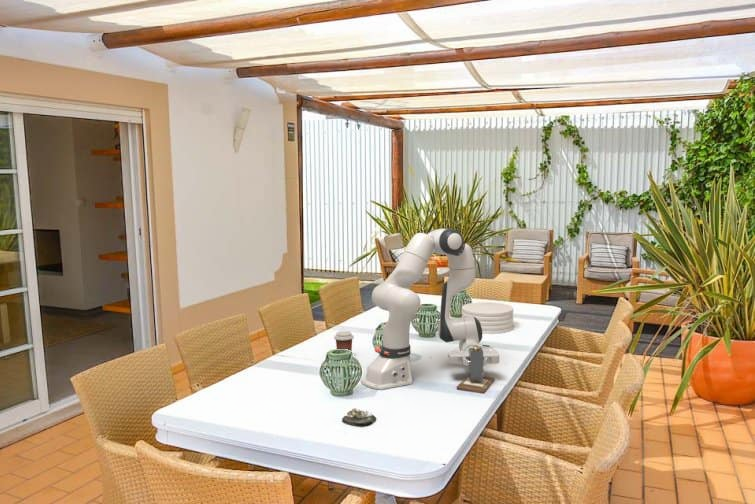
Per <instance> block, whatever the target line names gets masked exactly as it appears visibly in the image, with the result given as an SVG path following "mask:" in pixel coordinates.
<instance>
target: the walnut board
mask: <svg viewBox="0 0 755 504" xmlns="http://www.w3.org/2000/svg"><path fill="white" fill-rule="evenodd" d="M494 382H495V377H491V376H485V375H483V381H470V378H469V373H468V374H467V375H466V376H465V377H463V380H461V382H459V383H458V385H456V390H457V391H463V392H471V393H477V394H485V393H486V392H487V391H488V390H489V388H490V386H492V384H493V383H494Z"/></svg>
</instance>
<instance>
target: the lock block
mask: <svg viewBox="0 0 755 504" xmlns="http://www.w3.org/2000/svg"><path fill="white" fill-rule="evenodd" d="M469 360H470V365H468V374H469V378H470V381H483V376H484V365H483V350H482V348H479V347H478V346H474V347H473V348H469Z"/></svg>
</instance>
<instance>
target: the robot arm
mask: <svg viewBox="0 0 755 504" xmlns="http://www.w3.org/2000/svg"><path fill="white" fill-rule="evenodd" d="M433 255H442V256H443V255H445V256H446V258H447V260H448V267H449V274H448V275H449V276H448V279H447V280H446V281H445V282H443V285H442V289H441V299H440V300H441V301H440V302H441V303H440V312H439V314H440V315H439V322H438V326H437V327H438V328H437V333H438V337H439V339H440V340H441V341H443V342H445V343H451V342H455V341H456V342H457V341H459V343H458V348H459V350H451V351H450V353H447V357H448V358H449V363H450V364H452V365H465V366H469V365H470V360H469V348H473V347H474V346H478V347H479V348H482V350H483V366H487V365H489V364H491V365H497V364H500V353H498V351H497V350H496V349H494V347H493V345H488V344H482V343H481V342H482V339H483V334H482V328H481V324H480V322H479V320H478V319H477V318H475V317H474V316H473V317H463V318H462V317H456V318H454V317H453V318H451V317H450V314H451V313H450V312H451V301H452V299H453V297H454V296H455V295H457V294H459V293H460V292H462V291H465V290H467V289H468V288H469V287H471V286H472V285H473V284H474V282H476V281H475V280H476V266H475V265H476V264H475V258H474V254H473V250H472V247H471V246H470V245H469V244H468V243H466V241H465V240H464V237H463V234H462V233H461V232H460V231H459V230H458V229H456V228H455V229H454V228H435V229H432V230H429V231H428V232H426V233H424V232H417V233H415V234H414V235H413V236H412V238H411V239H410V240H409V241H408V243H407V244H406V247H405V249H404V250H403V253H402V254H401V256H400V259H399V260H398V262H397V264H396V266H395V267H394V269H393V270H392V272H391V273H390V274H389V275H388V277H387V278H386V279H385V280H384V281H383V282H381V283H380V284H379V285H376V287H374V288H373V290H372V294H371V300H372V302H373V304H374V305H375V306H376V307H378V309H381V310H383V311H387V312H388V319H387V321H386V323H385V324H384V325H383V326H382V345H381V346H380V347H381V348H380V347H377V346H376V347H375V348H374V352H375V353H378V354H379V355H378V356H377V357H376V358H375V359H373V361H372V362H371V363H370V364H369V365H368V367H367V369H366V376H365V377H363V378H361V379H360V383H361V384H362V385H364V386H366V387H369V388H370V389H373V390H378V391H379V390H380V391H381V390H386V389H393V388H397V387H401V386H407V385H411V384H413V380H414V375H413V371H412V364H411V356H410V355H411V353H412V352H411V344H410V328H411V323H412V319H413V317H414V315H416V314H417V313H418V311H419V309H420V308H421V298H420V295H418V294H417V293H416V292H414V291H413V290H411V289H410V288H411V287H412V285H414V284H416V283H417V282H419V281H420V280H421V277H423V274H424V271H425V269H426V268H427V266H428V263H429V261H430V258H431V257H432V256H433Z"/></svg>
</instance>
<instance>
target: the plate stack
mask: <svg viewBox="0 0 755 504" xmlns="http://www.w3.org/2000/svg"><path fill="white" fill-rule="evenodd" d="M473 316H474V317H475V318H477V319H478V320H479V322H480V324H481V328H482V335H499V334H505V333H510V332H512V331H513V330H514V326H513V325H514V307H513V306H512V305H509V304H506V303H502V302H501V303H500V302H489V301H487V302H485V301H484V302H483V301H481V302H480V301H479V302H469V303H466V304H463V305H462V306H461V318H463V317H473Z"/></svg>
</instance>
